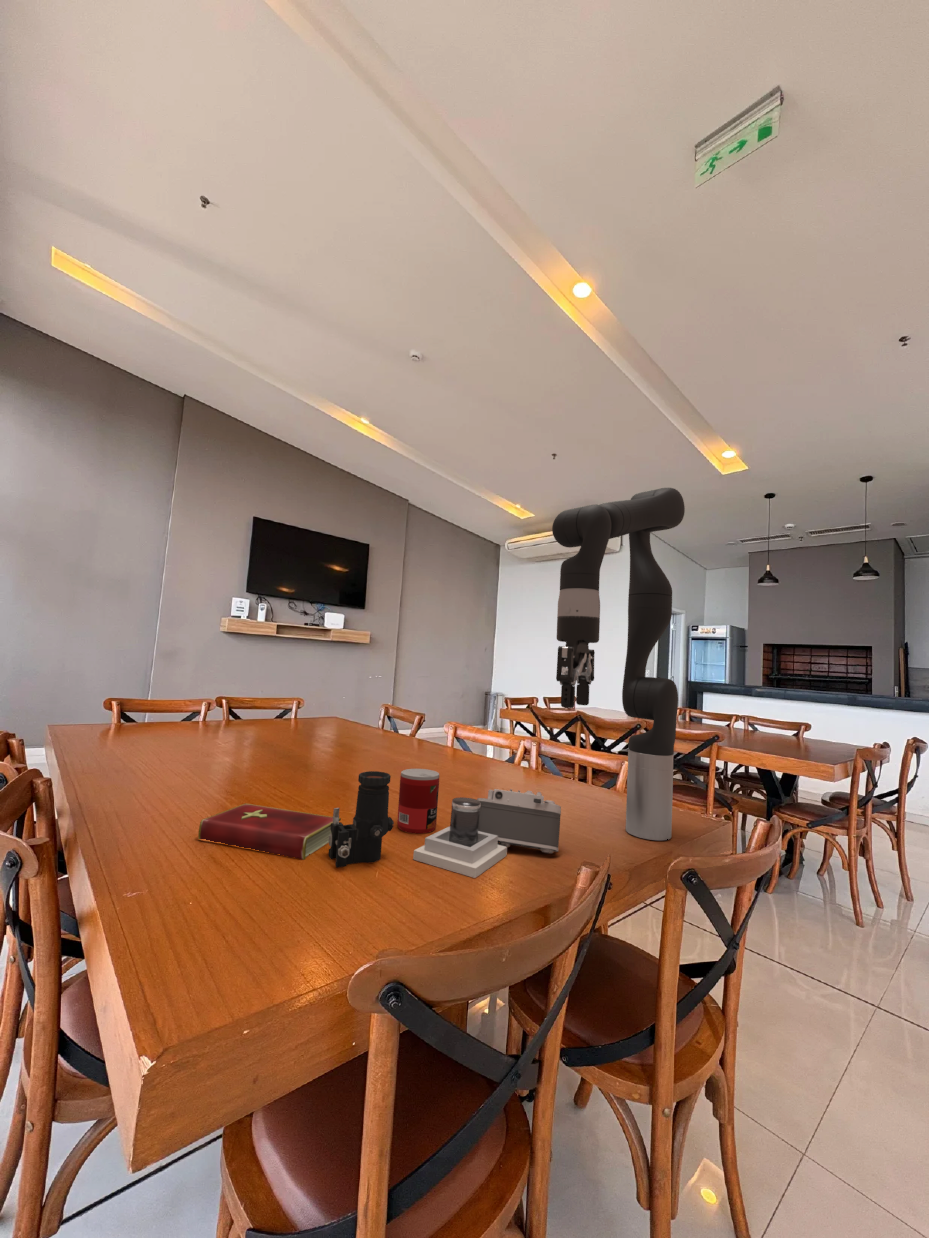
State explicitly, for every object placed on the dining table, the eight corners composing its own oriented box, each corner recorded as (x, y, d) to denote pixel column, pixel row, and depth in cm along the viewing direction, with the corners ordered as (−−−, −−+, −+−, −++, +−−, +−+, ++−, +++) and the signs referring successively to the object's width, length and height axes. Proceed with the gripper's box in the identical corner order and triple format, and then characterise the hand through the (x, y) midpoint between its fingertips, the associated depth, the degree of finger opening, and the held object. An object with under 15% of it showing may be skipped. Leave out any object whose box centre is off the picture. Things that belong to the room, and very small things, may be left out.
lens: (456, 840, 93) (460, 795, 93) (481, 847, 90) (485, 801, 91) (442, 848, 88) (447, 801, 89) (469, 855, 86) (473, 806, 87)
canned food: (434, 835, 99) (438, 778, 100) (394, 832, 99) (398, 775, 100) (437, 823, 107) (440, 769, 108) (399, 820, 107) (403, 767, 108)
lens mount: (449, 840, 97) (450, 821, 97) (506, 855, 91) (507, 835, 91) (413, 859, 87) (414, 838, 87) (475, 878, 81) (476, 855, 81)
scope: (333, 770, 88) (388, 768, 93) (326, 853, 87) (382, 846, 92) (345, 782, 81) (404, 778, 86) (338, 872, 80) (398, 863, 85)
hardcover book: (303, 862, 84) (305, 836, 84) (197, 843, 89) (200, 818, 89) (339, 839, 95) (340, 816, 96) (243, 823, 101) (245, 801, 101)
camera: (559, 853, 90) (563, 793, 95) (470, 838, 93) (478, 780, 98) (555, 858, 98) (559, 802, 103) (473, 844, 101) (481, 790, 106)
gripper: (587, 612, 84) (584, 711, 83) (609, 619, 96) (606, 705, 95) (544, 612, 88) (540, 706, 87) (570, 619, 100) (567, 702, 99)
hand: (575, 706), depth 91 cm, fingers open, 8 cm apart
